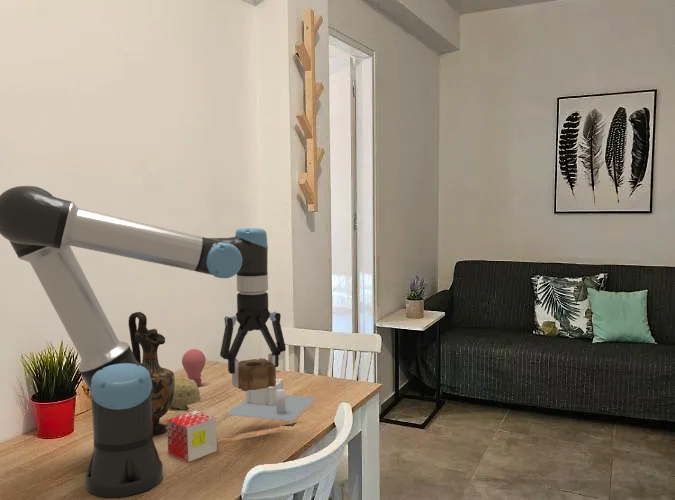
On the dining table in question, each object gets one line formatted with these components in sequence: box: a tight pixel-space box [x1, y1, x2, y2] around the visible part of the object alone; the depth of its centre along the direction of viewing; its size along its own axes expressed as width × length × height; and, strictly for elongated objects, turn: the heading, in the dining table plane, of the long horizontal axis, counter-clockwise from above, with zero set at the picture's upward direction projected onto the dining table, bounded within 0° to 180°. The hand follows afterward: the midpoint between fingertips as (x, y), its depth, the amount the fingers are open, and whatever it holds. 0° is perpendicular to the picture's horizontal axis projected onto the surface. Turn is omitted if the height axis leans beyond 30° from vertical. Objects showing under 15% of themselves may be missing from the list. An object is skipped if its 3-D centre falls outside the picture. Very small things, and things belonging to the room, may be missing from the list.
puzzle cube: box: [166, 410, 218, 463], centre depth 144 cm, size 8×8×8 cm
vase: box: [128, 311, 176, 436], centre depth 156 cm, size 12×12×30 cm
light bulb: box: [181, 348, 207, 387], centre depth 192 cm, size 7×7×12 cm
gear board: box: [225, 388, 317, 428], centre depth 170 cm, size 19×19×8 cm
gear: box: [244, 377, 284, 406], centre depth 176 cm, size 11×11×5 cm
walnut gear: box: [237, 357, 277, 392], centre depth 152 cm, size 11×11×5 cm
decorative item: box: [169, 376, 201, 410], centre depth 176 cm, size 10×10×10 cm
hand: (254, 382), depth 153 cm, fingers closed on walnut gear, 9 cm apart
